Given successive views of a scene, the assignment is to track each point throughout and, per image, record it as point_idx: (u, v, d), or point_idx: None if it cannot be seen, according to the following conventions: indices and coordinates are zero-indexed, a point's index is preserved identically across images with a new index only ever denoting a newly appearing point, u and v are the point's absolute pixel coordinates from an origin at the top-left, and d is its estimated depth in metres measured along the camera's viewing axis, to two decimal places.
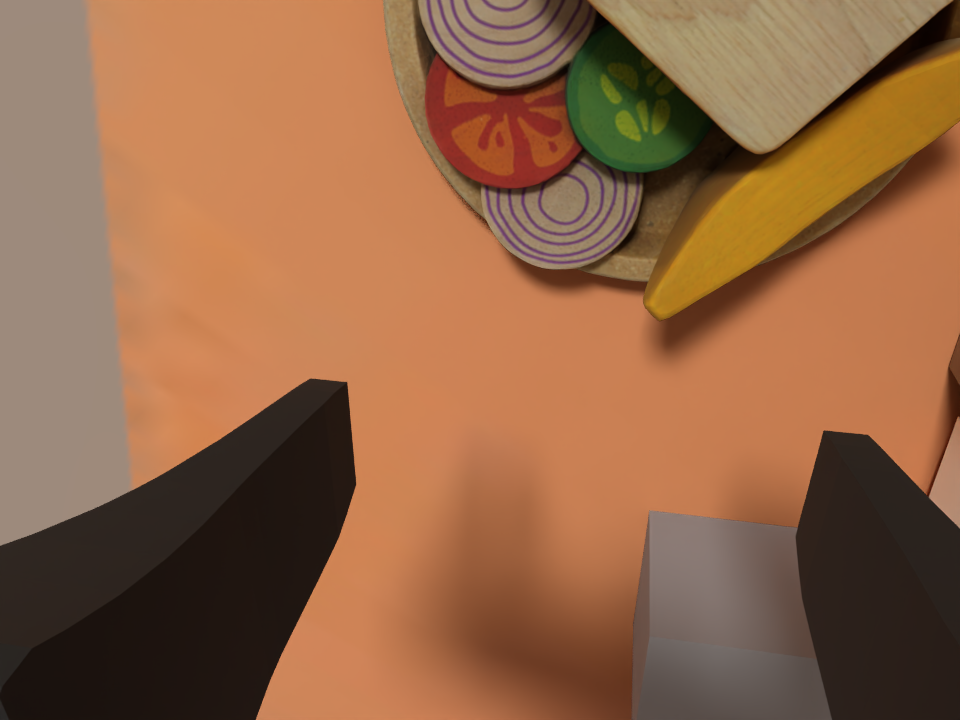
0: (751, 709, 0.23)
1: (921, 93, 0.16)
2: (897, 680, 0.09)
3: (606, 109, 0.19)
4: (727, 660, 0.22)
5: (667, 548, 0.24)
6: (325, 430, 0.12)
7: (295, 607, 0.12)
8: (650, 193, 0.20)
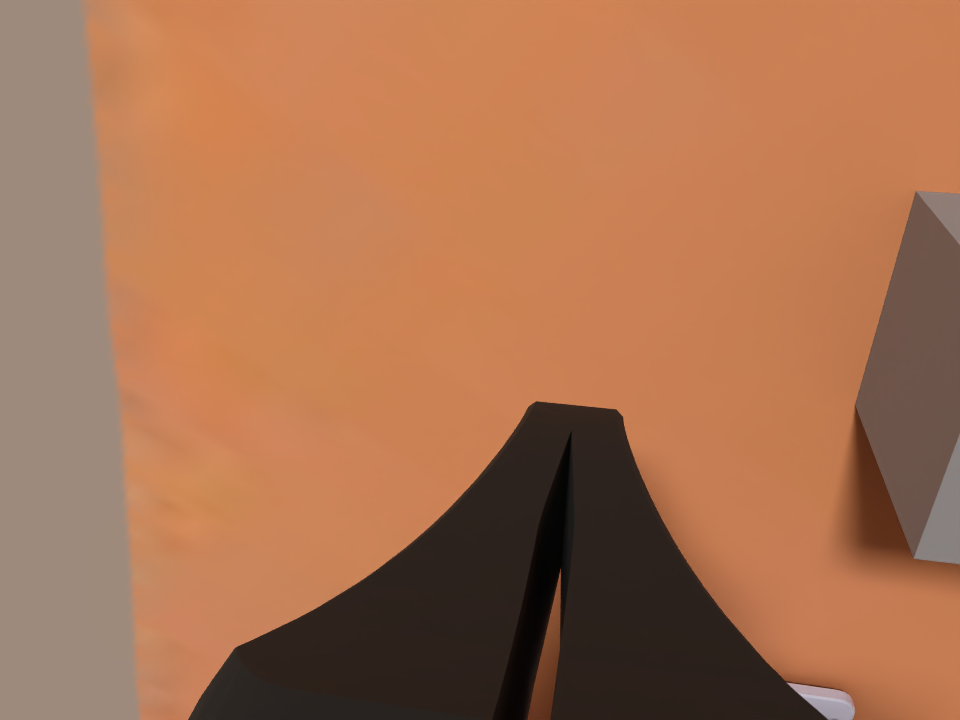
0: None
1: None
2: None
3: None
4: None
5: None
6: (568, 457, 0.12)
7: (541, 642, 0.11)
8: None
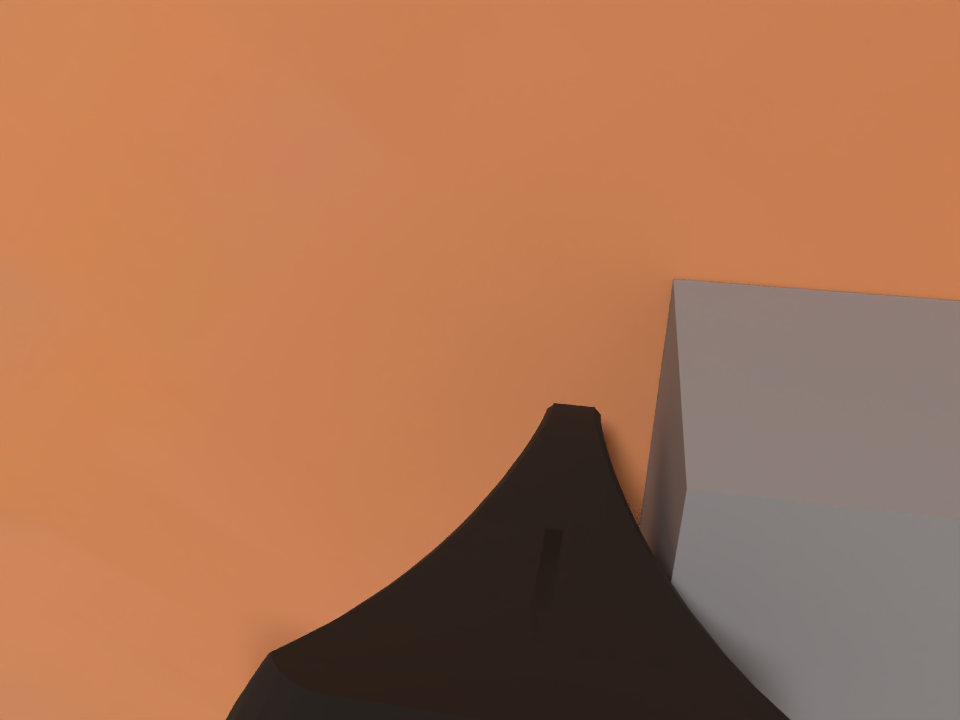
0: (932, 682, 0.09)
1: None
2: None
3: None
4: (887, 551, 0.08)
5: (716, 333, 0.11)
6: None
7: None
8: None
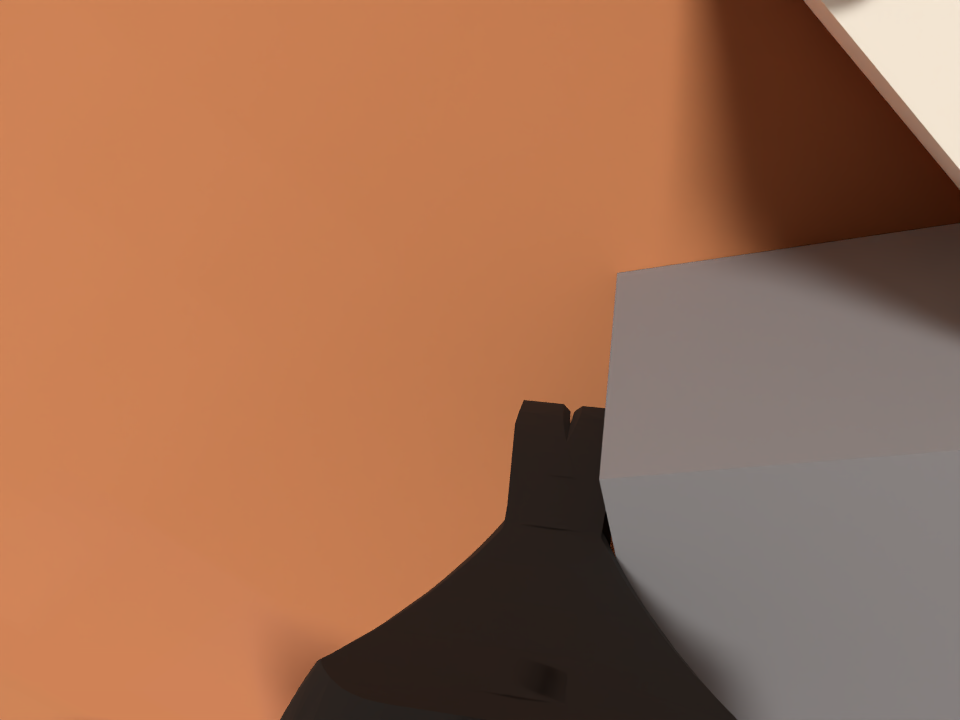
0: (912, 627, 0.09)
1: None
2: None
3: None
4: (813, 503, 0.08)
5: (652, 318, 0.11)
6: None
7: None
8: None
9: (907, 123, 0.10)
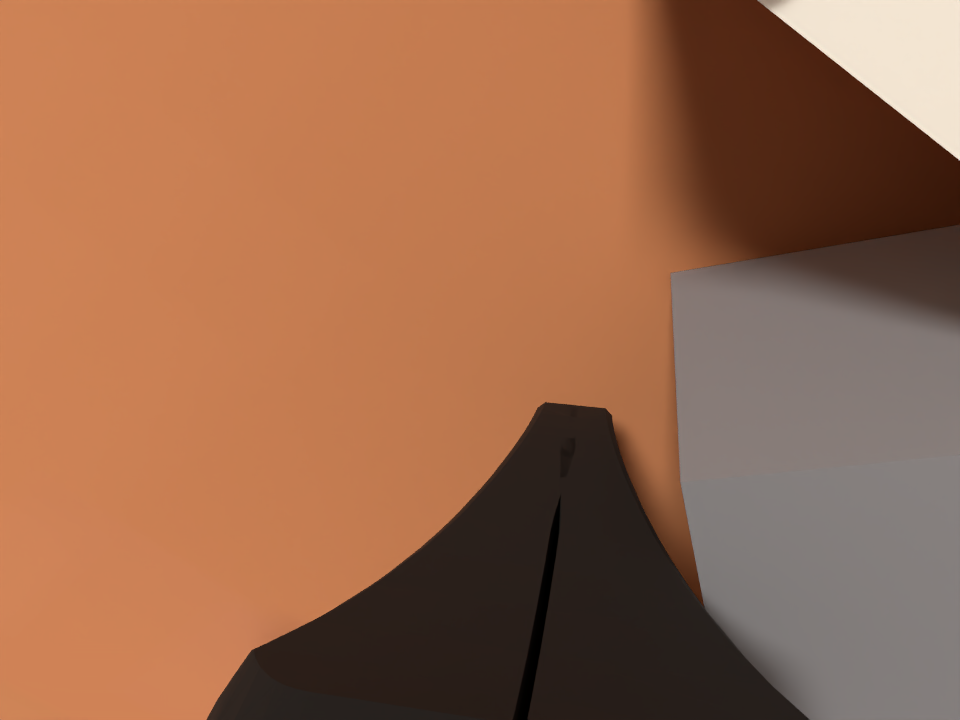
0: None
1: None
2: None
3: None
4: (902, 503, 0.08)
5: (713, 318, 0.11)
6: None
7: None
8: None
9: None
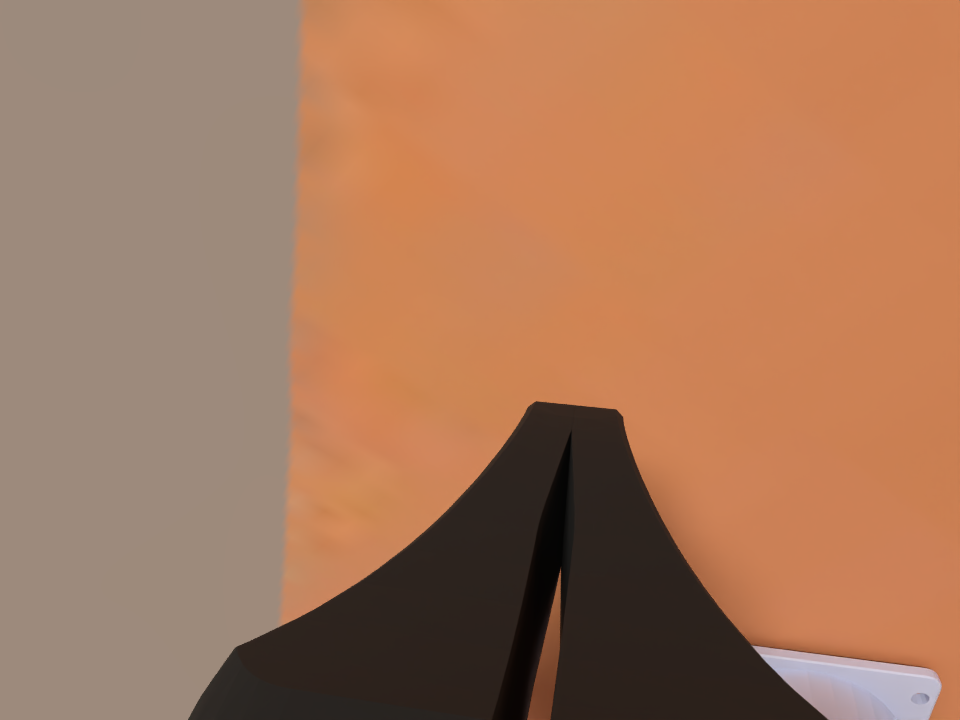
0: None
1: None
2: None
3: None
4: None
5: None
6: (568, 457, 0.12)
7: (541, 642, 0.11)
8: None
9: None
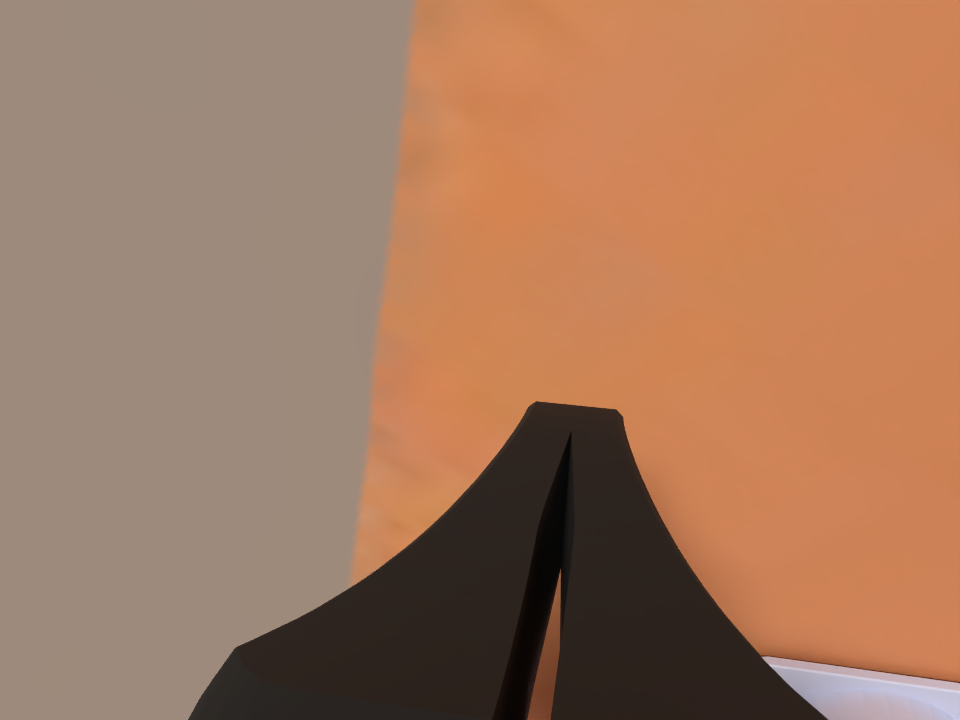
0: None
1: None
2: None
3: None
4: None
5: None
6: (568, 457, 0.12)
7: (541, 642, 0.11)
8: None
9: None
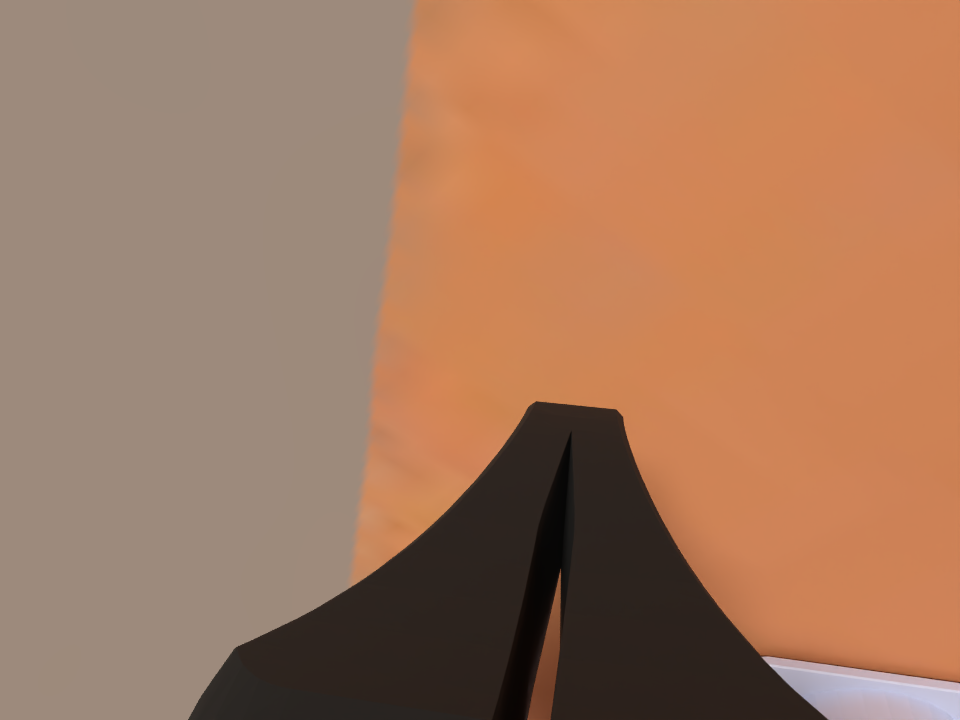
0: None
1: None
2: None
3: None
4: None
5: None
6: (568, 457, 0.12)
7: (541, 642, 0.11)
8: None
9: None
